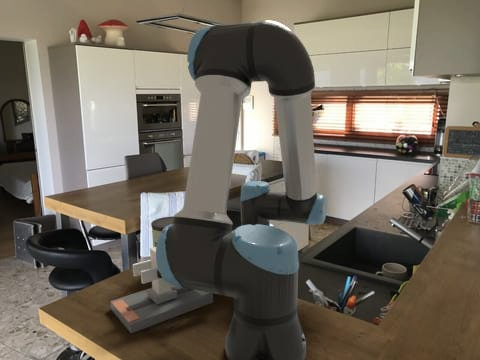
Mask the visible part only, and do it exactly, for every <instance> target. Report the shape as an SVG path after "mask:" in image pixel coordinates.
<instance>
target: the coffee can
mask: <svg viewBox="0 0 480 360" xmlns="http://www.w3.org/2000/svg"><path fill="white" fill-rule="evenodd" d="M173 220H174V215H173V216H164V217H159V218H157V219H154V220H152V221H151V224H150V226H151V230H152V248H153V247H156V245H157V241H158V238H159V235H161V234H162V230H163V229H164V228H165V227H166V226H169V225H171V224H173Z"/></svg>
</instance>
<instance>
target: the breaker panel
mask: <svg viewBox="0 0 480 360" xmlns="http://www.w3.org/2000/svg"><path fill="white" fill-rule="evenodd" d="M171 287H172V288H174V289H175V290H176V291H177V298H174V299H171V300H168V301H165V302H163V303H160V304H156V303H155V302H154V301H153V300H152V299H151V298H149V297H148V296H147V289H144V290H141V291H138V292H134V293H131V294H128V295H126V296H122V297H120V298H119V297H118V298H116V299H112V300H109V301H110V302H109V303H110V309H111V311H112V313H113V314H114V315H115V316H116V318H118V319H119V320H120V322H121V323H122V324H123V326H124V327H125V328H126V330H128V331H129V333H130V334H134V333H137V332H139V331H142V330H145V329H146V328H149V327H152V326H154V325H155V326H156V325H157V324H159V323H162V322H166V321H168V320H170V319H173V318H175V317H178V316H180V315H184V314H187V313H189V312H191V311H194V310H196V309H199V308H202V307H205V306H207V305H209V304H212V303H214V293H209V292H204V291H199V290H194V289H183V288H182V287H179V286H176V285H172V284H171Z"/></svg>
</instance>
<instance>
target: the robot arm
mask: <svg viewBox="0 0 480 360" xmlns="http://www.w3.org/2000/svg"><path fill="white" fill-rule="evenodd" d="M186 57H187V58H186V59H187V62H188V65H187V69H188V72H189V76H190V77H191V78H192V80H193V81H194V86H195V88H196V89H197V90H198V91H199V93H200V97H199V104H198V108H197V109H198V111H197V116H196V122H195V129H194V135H193V142H192V149H191V156H190V162H189V169H188V175H187V179H186V180H187V182H186V186H185V187H186V189H185V193H184V200H183V207H182V208H181V210H179V211H178V212H176V213H175V214H174V215H173V216H174V220H173V224H171V225H169V226H166V227H165V228H164V229H163V230H162V234H161V235H159V238H158V241H157V245H156V263H157V267H153V268H151V258H150V259H147V260H144V261H140V262H136V263H133V264H132V273H133V274H132V276H133V277H136V278H137V277H138V276H140V280H141V284H143V285H145V284H149V283H150V282H151V283H152V281H154V280H158V279H161V278H163V279H164V280H165V281H166V282H168V283H169V284H172V285H176V286H179V287H182V288H183V289H194V290H199V291H204V292H209V293H212V294H213V295H215V294H216V295H220V296H225V297H231V298H233V315H232V318H231V322H230V326H229V329H228V331H227V333H226V336H225V347H224V348H225V355H226V358H227V360H306V357H307V340H306V336H305V334H304V331H303V327H302V324H301V321H300V317H299V315H298V299H299V298H298V293H299V292H298V289H299V287H298V286H299V269H300V268H299V267H300V261H299V250H298V249H299V248H298V244H297V242H296V240H295V238H294V237H293V236H292V235H291V234H289V233H288V232H287V231H285V230H282V229H281V228H277V227H276V226H275V225H274V224H272V223H271V222H270V221H278V222H287V223H295V224H305V225H313V226H315V225H316V226H317V225H322V224H323V223H324V222H325V221H326V217H327V208H328V203H327V197H326V196H325V195H323V194H320V193H317V189H318V188H317V177H316V160H315V143H314V127H313V113H312V112H313V111H312V92H313V91H314V90H315V88H316V77H315V69H314V66H313V63H312V60H311V57H310V55H309V52H308V50H307V49H306V47H305V46H304V44H303V43H302V41H301V39H300V38H299V36H297V35H296V34H295V33H294V32H293V31H292V30H291V29H290V28H289V27H287V26H285V25H284V24H283V23H280V22H278V21H274V20H269V19H268V20H267V19H264V20H259V21H249V22H240V23H230V24H221V23H215V24H213V25H209V26H205V27H201V28H199V29H198V30H196V32H195V33H194V34H193V36H192V37H191V39H190V42H189V45H188V49H187V56H186ZM254 82H257V83H258V82H266V83H267V85H268V86H267V88H268V93H269V95H270V96H271V97H273V98H274V104H275V113H276V122H277V130H278V139H279V140H278V141H279V146H280V147H279V148H280V154H281V155H280V156H281V164H282V172H283V181H284V188H285V189H284V190H285V191H279V190H278V191H277V190H271V188H270V184H269V182H266V181H261V180H251V181H246V182H244V183H242V185H241V187H240V200H239V201H240V222H241V223H240V226H238V227H236V228H235V229H234V230H233V223H234V222H233V221H232V220H231V219H230V217H229V216H228V214H227V211H228V204H229V197H230V191H231V190H230V189H231V182H232V175H233V168H234V167H233V166H234V159H235V152H236V146H237V139H238V132H239V131H238V130H239V126H240V125H239V123H240V116H241V110H242V103H243V102H242V101H243V100H244V99H246V98H247V97H248V96H249V95H250V94H251V90H252V84H253V83H254Z"/></svg>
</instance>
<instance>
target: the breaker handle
mask: <svg viewBox="0 0 480 360" xmlns="http://www.w3.org/2000/svg"><path fill="white" fill-rule="evenodd" d="M149 253H150V254H149V256H150V259H151V268H153V267H157V263H156V247H153V246H152V247H149ZM151 285H152V286H151V287H150V288H147V289H146V290H147V296H148V297H149V298H151V299H152V300H153V301H154V302H155V303H156V304H160V303H163V302H165V301H168V300H171V299H174V298H177V291H176V290H175V289H174V288H172V287H171V284H169V283H168V282H166V281H165V280H164V279H163V278H161V279H158V280H154V281H151Z"/></svg>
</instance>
